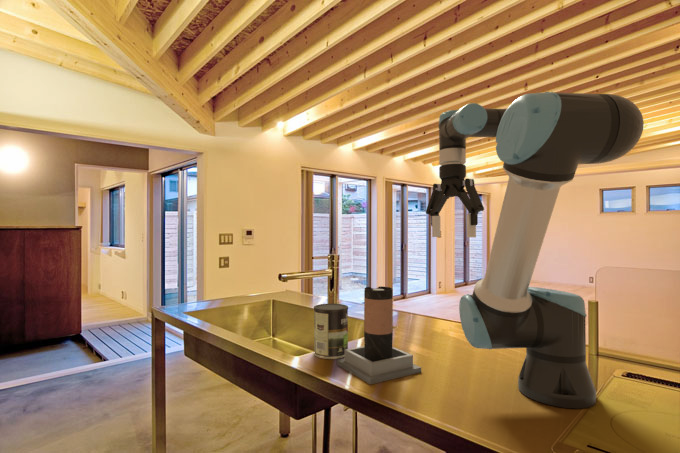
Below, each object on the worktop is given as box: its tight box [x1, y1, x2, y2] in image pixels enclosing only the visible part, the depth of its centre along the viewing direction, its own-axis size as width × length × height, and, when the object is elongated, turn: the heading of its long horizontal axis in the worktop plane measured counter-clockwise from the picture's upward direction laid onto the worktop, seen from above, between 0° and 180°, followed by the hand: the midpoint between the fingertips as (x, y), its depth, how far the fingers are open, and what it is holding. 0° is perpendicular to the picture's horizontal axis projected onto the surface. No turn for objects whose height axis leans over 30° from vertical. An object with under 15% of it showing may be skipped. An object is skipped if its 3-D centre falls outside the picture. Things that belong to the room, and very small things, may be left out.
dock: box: [336, 345, 422, 385], centre depth 101 cm, size 16×16×4 cm
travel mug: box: [363, 286, 394, 362], centre depth 102 cm, size 8×8×20 cm
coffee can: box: [313, 303, 349, 360], centre depth 114 cm, size 10×10×14 cm
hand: (453, 237), depth 112 cm, fingers open, 13 cm apart
